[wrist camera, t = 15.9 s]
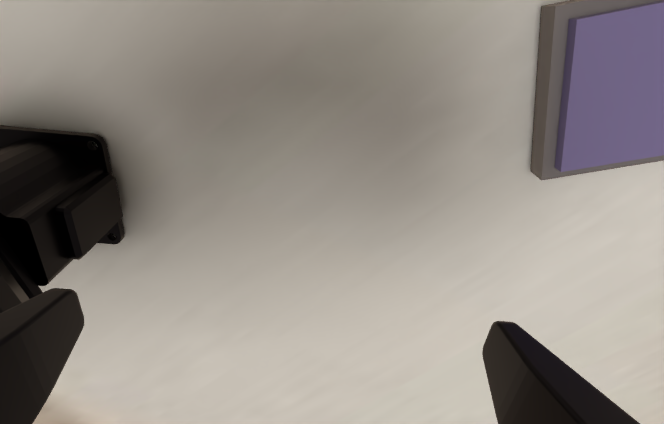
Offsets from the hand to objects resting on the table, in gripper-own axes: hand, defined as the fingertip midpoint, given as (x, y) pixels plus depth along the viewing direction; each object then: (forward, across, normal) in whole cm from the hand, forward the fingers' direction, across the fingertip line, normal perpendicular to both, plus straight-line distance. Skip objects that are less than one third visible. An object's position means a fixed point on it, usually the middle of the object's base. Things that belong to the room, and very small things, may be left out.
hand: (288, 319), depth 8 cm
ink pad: (+13, -16, -4) cm, 21 cm away
